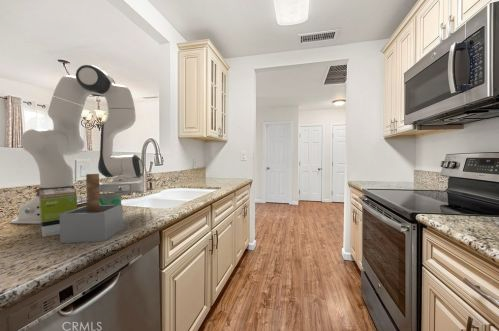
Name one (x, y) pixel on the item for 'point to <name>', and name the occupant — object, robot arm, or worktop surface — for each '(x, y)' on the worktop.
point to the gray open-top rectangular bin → (90, 224)
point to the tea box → (55, 208)
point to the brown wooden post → (93, 193)
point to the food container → (110, 199)
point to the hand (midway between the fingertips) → (107, 189)
